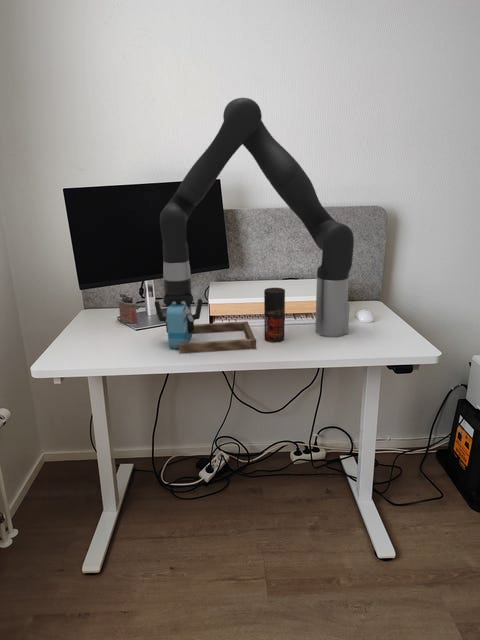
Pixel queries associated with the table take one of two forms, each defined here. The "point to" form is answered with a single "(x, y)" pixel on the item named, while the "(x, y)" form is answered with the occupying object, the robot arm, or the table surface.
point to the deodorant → (274, 315)
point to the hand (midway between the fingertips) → (180, 333)
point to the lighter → (127, 309)
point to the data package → (177, 325)
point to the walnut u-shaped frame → (220, 345)
